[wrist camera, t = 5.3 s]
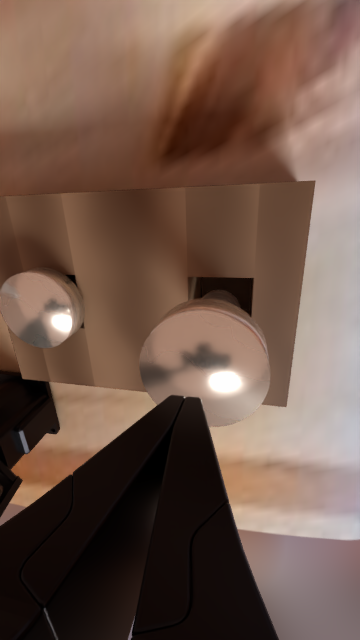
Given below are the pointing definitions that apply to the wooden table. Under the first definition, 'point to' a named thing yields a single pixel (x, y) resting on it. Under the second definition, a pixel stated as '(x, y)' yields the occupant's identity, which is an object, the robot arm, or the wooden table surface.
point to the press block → (158, 268)
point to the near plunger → (208, 358)
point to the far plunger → (42, 306)
